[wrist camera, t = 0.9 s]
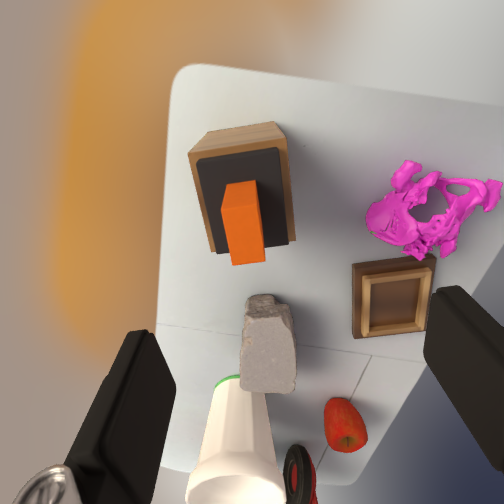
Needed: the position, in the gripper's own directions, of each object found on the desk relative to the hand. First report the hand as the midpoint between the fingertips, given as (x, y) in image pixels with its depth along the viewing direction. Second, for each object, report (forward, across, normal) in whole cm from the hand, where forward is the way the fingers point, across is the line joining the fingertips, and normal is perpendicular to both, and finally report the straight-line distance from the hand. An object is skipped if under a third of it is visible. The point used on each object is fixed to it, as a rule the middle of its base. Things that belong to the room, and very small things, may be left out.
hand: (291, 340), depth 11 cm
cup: (+26, +9, +36) cm, 46 cm away
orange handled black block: (+14, +2, 0) cm, 15 cm away
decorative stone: (+26, +3, +24) cm, 35 cm away
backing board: (+26, -14, +21) cm, 36 cm away
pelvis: (+26, -17, +8) cm, 33 cm away
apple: (+26, -7, +42) cm, 49 cm away
